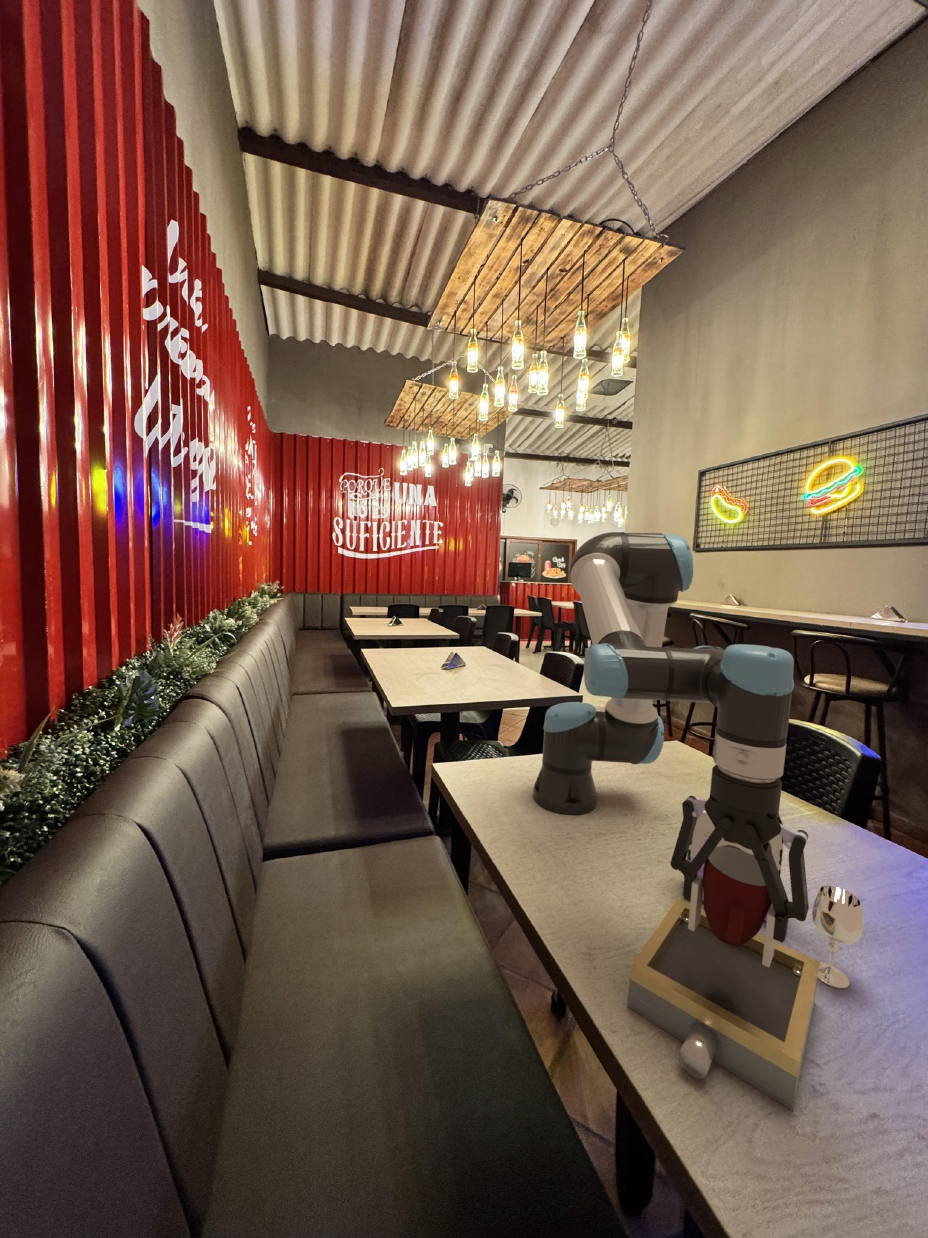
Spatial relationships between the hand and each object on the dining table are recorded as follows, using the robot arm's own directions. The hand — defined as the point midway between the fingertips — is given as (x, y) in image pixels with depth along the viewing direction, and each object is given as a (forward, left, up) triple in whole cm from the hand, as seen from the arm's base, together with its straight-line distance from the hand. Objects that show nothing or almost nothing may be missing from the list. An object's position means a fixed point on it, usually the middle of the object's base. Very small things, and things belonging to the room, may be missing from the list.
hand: (729, 941), depth 64 cm
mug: (0, 0, 0) cm, 0 cm away
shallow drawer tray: (0, -2, -9) cm, 9 cm away
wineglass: (+10, +16, -9) cm, 21 cm away
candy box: (-5, +23, -9) cm, 25 cm away
